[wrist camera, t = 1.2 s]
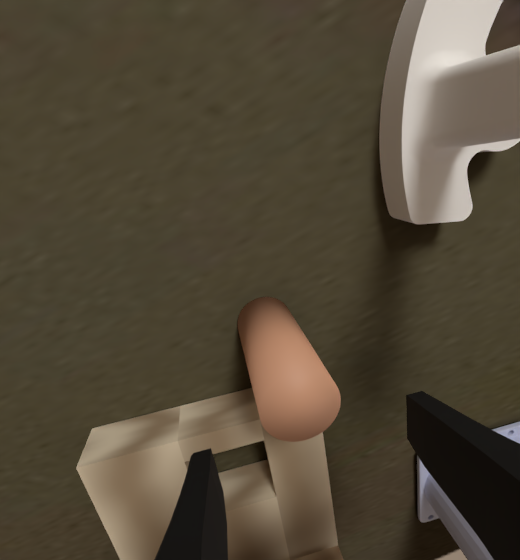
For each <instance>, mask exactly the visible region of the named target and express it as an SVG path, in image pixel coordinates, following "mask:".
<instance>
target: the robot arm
mask: <svg viewBox="0 0 520 560" xmlns="http://www.w3.org/2000/svg"><path fill="white" fill-rule="evenodd" d="M406 400H407V439H408V440H409V442H410V444H411V445H412V447H413V449H414V450H415V452H416V454H417V495H418V518H419V520H420V521H421V522H423V523H425V522H428V521H432V520H435V519H438V518H440V520H441V521H442V523H443V524H444V526H445V527H446V529H447V530H448V532H449V533H450V534H451V536H452V537H453V539H454V540H455V542H456V543H457V545H458V546H459V548H460V549H461V551H462V552H463V553H464V555H465V556H466V558H467V559H468V560H520V422H516V423H513V424H509V425H506V426H502V427H499V428H495V429H492V430H491V429H489V428H487V427H485V426H484V425H482V424H480V423H478V422H476V421H474V420H473V419H471V418H469V417H467V416H465V415H463V414H462V413H460V412H458V411H456V410H455V409H453V408H451V407H449V406H448V405H446V404H444V403H442V402H441V401H439V400H437V399H435V398H434V397H432V396H430V395H428V394H426V393H425V392H423V391H420V392H417V393H413V394H409V395H406ZM154 560H228V539H227V519H226V510H225V501H224V493H223V488H222V485H221V481H220V478H219V474H218V471H217V468H216V464H215V461H214V457H213V454H212V450H211V448H210V449H206V450H202V451H199V452H195V453H193V454H192V455H191V458H190V462H189V466H188V470H187V473H186V477H185V480H184V483H183V486H182V490H181V493H180V496H179V498H178V501H177V504H176V507H175V510H174V513H173V515H172V518H171V521H170V523H169V526H168V528H167V531H166V533H165V536H164V538H163V540H162V543H161V545H160V548H159V550H158V552H157V555H156V557H155V559H154Z"/></svg>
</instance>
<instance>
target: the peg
mask: <svg viewBox="0 0 520 560" xmlns="http://www.w3.org/2000/svg"><path fill="white" fill-rule="evenodd" d="M237 326H238V331H239V335H240V339H241V344H242V348H243V352H244V356H245V360H246V364H247V368H248V372H249V376H250V380H251V384H252V388H253V392H254V397H255V401H256V405H257V409H258V413H259V417H260V421H261V424H262V426H263V427H264V429H265V430H266V431H267V432H268V433H269V434H270V435H271V436H273V437H275V438H277V439H279V440H282V441H288V442H298V441H304V440H307V439H310V438H313V437H315V436H317V435H319V434H320V433H322V432H323V431H325V430H326V429H327V428H328V427H329V426H330V425H331V424H332V423H333V421H334V420H335V418H336V416H337V414H338V412H339V409H340V404H341V397H340V392H339V389H338V387H337V386H336V384H335V382H334V381H333V379H332V378H331V376H330V374H329V373H328V371H327V370H326V368H325V367H324V365H323V363H322V362H321V360H320V359H319V357H318V355H317V354H316V352H315V351H314V349H313V348H312V346H311V344H310V343H309V341H308V340H307V338H306V336H305V335H304V333H303V332H302V330H301V328H300V327H299V325H298V324H297V322H296V321H295V319H294V317H293V316H292V314H291V313H290V311H289V309H288V308H287V306H286V305H285V304H284V303H283V302H281V301H280V300H278V299H275V298H272V297H261V298H257V299H255V300H252V301H251V302H249V303H248V304H247V305H246V306H245V307H244V308H243V309H242V310H241V312H240V314H239V317H238V322H237Z"/></svg>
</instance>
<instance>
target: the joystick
mask: <svg viewBox="0 0 520 560" xmlns="http://www.w3.org/2000/svg"><path fill="white" fill-rule="evenodd" d="M502 1H503V0H406V2H405V4H404V7H403V10H402V13H401V16H400V19H399V22H398V25H397V28H396V32H395V35H394V39H393V43H392V46H391V50H390V55H389V59H388V64H387V69H386V74H385V79H384V86H383V93H382V101H381V111H380V129H379V150H380V166H381V176H382V183H383V189H384V195H385V200H386V204H387V208H388V212H389V214H390V216H391V217H393V218H395V219H399V220H403V221H407V222H410V223H414V224H431V223H444V222H456V221H463V220H465V219H466V218H467V217H468V216H469V215H470V213H471V211H472V207H473V205H472V200H471V196H470V190H469V184H468V177H467V168H468V164H469V162H470V160H471V158H472V157H473V156H474V155H475V154H476V153H478V152H493V151H502V150H506V149H508V148H510V147H512V146H514V145H515V144H517V143H518V142H519V141H520V45H519V46H515V47H512V48H509V49H505V50H502V51H499V52H496V53H492V54H489V55H486V53H485V44H486V40H487V37H488V34H489V31H490V29H491V26H492V24H493V21H494V19H495V17H496V14H497V12H498V10H499V8H500V5H501V3H502Z"/></svg>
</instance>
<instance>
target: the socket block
mask: <svg viewBox="0 0 520 560" xmlns="http://www.w3.org/2000/svg"><path fill="white" fill-rule="evenodd" d="M263 440H264V445H265V449H266V454H267V460H263V461H260V462H256V463H253V464H249V465H245V466H242V467H238V468H235V469H231V470H227V471H224V472H220V473H218V474H219V478H220V481H221V485H222V488H223V493H224V501H225V510H226V519H227V539H228V560H343V557H342V555H341V552H340V549H339V546H338V541H337V534H336V526H335V519H334V512H333V504H332V497H331V489H330V482H329V475H328V467H327V460H326V453H325V445H324V438H323V432H322V433H320V434H319V435H317V436H315V437H313V438H310V439H307V440H304V441H298V442H288V441H282V440H279V439H277V438H275V437H273V436H271V435H270V434H269V433H268V432H267V431H266V430H265V429H264V427H263V426H262V424H261V421H260V417H259V413H258V409H257V405H256V401H255V397H254V392H253V388H249V389H245V390H241V391H237V392H233V393H229V394H226V395H222V396H218V397H214V398H210V399H206V400H202V401H198V402H194V403H190V404H186V405H182V406H178V407H175V408H171V409H167V410H163V411H159V412H155V413H151V414H147V415H143V416H139V417H135V418H131V419H127V420H123V421H120V422H116V423H112V424H108V425H104V426H100V427H96V428H92V430H91V433H90V435H89V438H88V440H87V442H86V445H85V447H84V450H83V452H82V455H81V457H80V460H79V462H78V465H77V467H76V469H77V471H78V473H79V475H80V477H81V479H82V481H83V483H84V485H85V487H86V489H87V492H88V494H89V496H90V498H91V500H92V502H93V504H94V506H95V508H96V510H97V512H98V514H99V516H100V519H101V521H102V523H103V525H104V527H105V529H106V531H107V533H108V535H109V537H110V539H111V541H112V543H113V546H114V548H115V550H116V552H117V554H118V556H119V558H120V560H154V559H155V557H156V555H157V552H158V550H159V548H160V545H161V543H162V540H163V538H164V536H165V533H166V531H167V528H168V526H169V523H170V521H171V518H172V515H173V513H174V510H175V507H176V504H177V501H178V498H179V496H180V493H181V490H182V486H183V483H184V480H185V477H186V473H187V470H188V466H189V462H190V458H191V455H192V454H193V453H195V452H199V451H202V450H206V449H210V448H211V450H212V454H216V453H219V452H223V451H227V450H230V449H234V448H238V447H241V446H245V445H249V444H252V443H256V442H260V441H263Z"/></svg>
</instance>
